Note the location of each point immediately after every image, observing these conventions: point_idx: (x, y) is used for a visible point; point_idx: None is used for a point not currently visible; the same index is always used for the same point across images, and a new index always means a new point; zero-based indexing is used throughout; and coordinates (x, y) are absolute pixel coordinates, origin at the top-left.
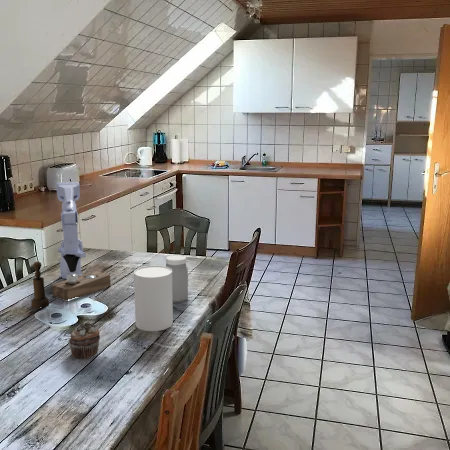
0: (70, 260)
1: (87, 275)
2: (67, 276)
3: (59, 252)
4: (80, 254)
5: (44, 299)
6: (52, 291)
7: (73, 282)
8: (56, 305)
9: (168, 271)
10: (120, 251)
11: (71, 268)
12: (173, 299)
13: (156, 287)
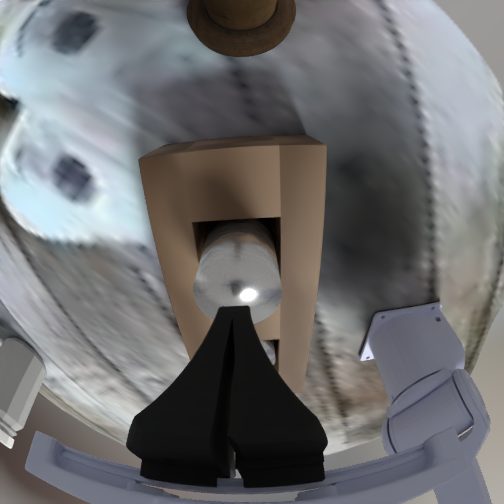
0: (160, 406)
1: (274, 358)
2: (239, 255)
3: (437, 435)
4: (37, 465)
5: (197, 10)
6: (313, 139)
7: (203, 251)
8: (167, 71)
9: None
10: (380, 436)
11: (208, 331)
12: (4, 341)
13: None
